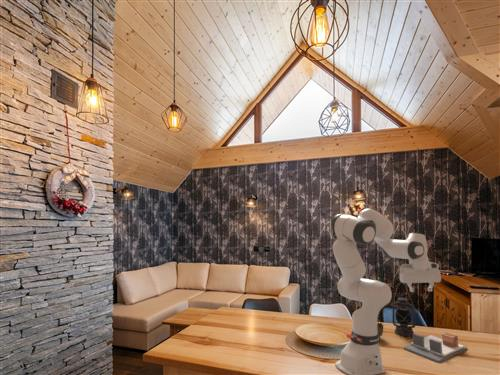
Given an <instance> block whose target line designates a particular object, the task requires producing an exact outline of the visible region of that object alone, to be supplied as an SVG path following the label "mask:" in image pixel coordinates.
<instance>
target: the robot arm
mask: <svg viewBox="0 0 500 375" xmlns="http://www.w3.org/2000/svg"><path fill="white" fill-rule="evenodd" d="M330 227H331V232H332V235H333V236H332V237H334V238H335V239H336V240H335V241H334V242H333V243H332V252H333V255H334V256H333V257H334V259H335V261H336V264H337V266H338V268H339V270H340V271H341V272H340V273H341V275H342V277H340V278H339V280H338V281H337V287H336V288H337V290H338V293H339V294H340V296H342V297H344V298H346V299H349V300H352V301H356V302H360V303H361V304H362V305H361V308H360V307H359V308H358V309H356V310H354V312H352V316H351V317H352V319H351V320H352V321H351V322H352V329H351V333H349V332H347V333H346V338H348V339H349V341H348V343H347V344H346V345H345V346H344V348H342V350H341V353H340V359H339V360H337V361H336V362H335V364H334V366H335V368H337V369H338V370H339V371H341V372H343V373H344V374H347V375H379V374H384V373H386V368H385V367H384V363H383V362H384V361H383V357H382V351H381V348H380V344H379V343H380V339H379V334H378V330H377V324H378V317H379V314H380V312H381V310H382V309H383V308H384V307H385V306H387V305H388V304H389V303H390V302H391V300H392V294H393V292H392V290H391V287H390V286H389V285H388V284H387V283H386V282H383V281H380V280H376V279H369V278H364V276H365V275H366V273H367V271H366V270H367V267H366V265H365V263H364V260H363V259H362V255H361V254H360V252H359V250H358V247H357V245H358V244H359V245H363V246H364V245H365V246H366V245H369V244H371V243H372V242H374V243H375V244H376V245H377V246H378V248H380V249H381V251H382V252H383V254H384V255H385V257H387V258H389V259H390V258H391V259H402V260H403V259H404V260H408V263H407V264H401V265H400V266H399V281H400V282H401V283H402V284H406V286H407V288H409V292H411V293H414V292H415V287H412V284H423V283H424V284H425V283H426V284H427V283H428V285H429V286H428V287H427V292H433V288H434V286H435V283H441V282H442V275H441V271H440V269H439V268H440V264H438V263H436V262H432V261H429V257H428V242H427V239H426V235H425V234H423V233H420V232H410V233H408V234H407V235H408V236H407V238H405V239H394V238H392V236H393V234H394V230H395V228H394V225H393V223H392V222H391V220H389V219H388V218H387V217H386V216H385V215H383V214H382V213H381V212H378V211H377V210H376V209H375V210H374V209H372V208H364V209H363V210H361V211H359V213H358V215H357V216H354V215H351V214H350V215H349V214H347V213H338V214H336V215H334V216H333V218H332V220H331V224H330Z"/></svg>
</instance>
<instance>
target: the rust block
mask: <svg viewBox="0 0 500 375" xmlns="http://www.w3.org/2000/svg"><path fill="white" fill-rule="evenodd" d="M441 339H443V345H446V346H449V347H452V348H455V347H457V346H458V344H459V340H458V339H459V337H458V335H457V334H453V333H449V332H444V333H442V338H441Z"/></svg>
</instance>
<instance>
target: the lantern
mask: <svg viewBox="0 0 500 375" xmlns="http://www.w3.org/2000/svg"><path fill="white" fill-rule="evenodd" d="M401 283H402V282H401V281H400V282H399V283H398V284H397V285H396V288H395V293H394V296H393V298H392V299H393V300H392V303H391V307H392V325H393V326H394V327H395V329H394V334H395V335H397V336H399V335H400V337H402V336H404V337H403V338H413V333H415V332H414V330H413V329H414V328H416V318H415V312H414V310H415V308H416V307H415V305H414V304H413V301H412V298H411V296H410V295H409V292H408V291H409V290H408V285H406V283H403V285H404V286H405V287H406V291H407V295H408V297H409V299H410V301H411V302H408V299H407V298H406V297H403V293H401V295H400V297H398V298H396V299H397V300H396V302H394V300H395V297H396V296H397V295H396V294H397V291H398V286H399V285H400V284H401ZM395 305H396V306H397V307H396V308H397V309H396V310H395ZM409 307H410V308H411V311H410V309H409ZM411 313H412V314H411ZM395 320H396V322H397V323H398V324H397V323H395ZM411 322H413V323H412V325H411Z"/></svg>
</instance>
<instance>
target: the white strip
mask: <svg viewBox="0 0 500 375" xmlns="http://www.w3.org/2000/svg"><path fill="white" fill-rule="evenodd" d="M429 343H430V348H427V351H430V352H433V353H435V354H438V355H441V356H443V357H445V356H447V355H449V354H451V353H453V352H455V351H458V350H460V349H462V348H464V347H465V345H462V344H460V343H458V346H457V347H455V348H452V347H449V346H446V345H443V342H442V343H441V342H439V341H436V340H433V339H429Z"/></svg>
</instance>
